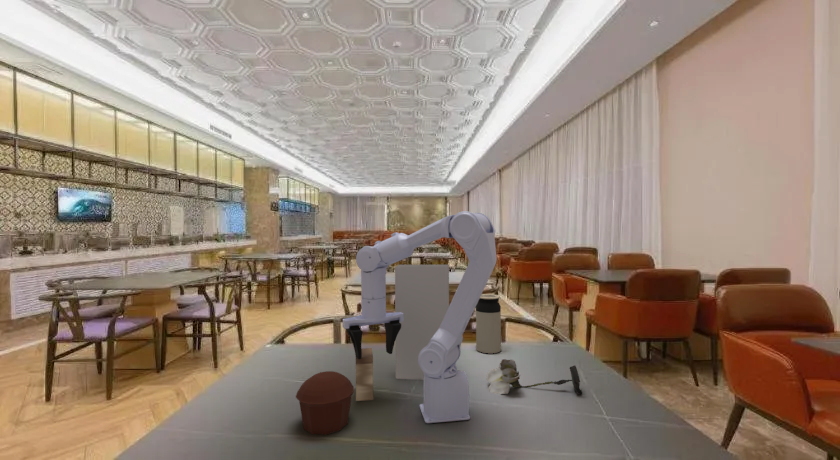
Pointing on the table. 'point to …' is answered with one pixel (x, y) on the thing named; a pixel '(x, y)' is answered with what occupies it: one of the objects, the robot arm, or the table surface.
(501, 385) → the artificial flower
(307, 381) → the muffin
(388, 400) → the table surface
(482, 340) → the travel mug
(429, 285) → the tall grey block
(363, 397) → the maple block
